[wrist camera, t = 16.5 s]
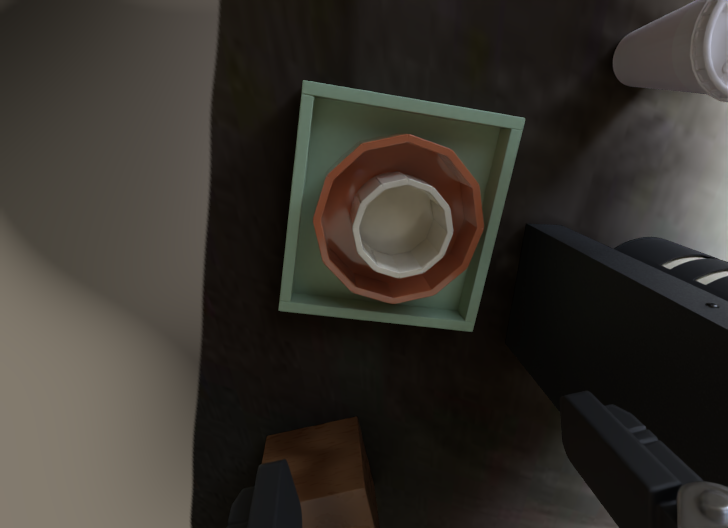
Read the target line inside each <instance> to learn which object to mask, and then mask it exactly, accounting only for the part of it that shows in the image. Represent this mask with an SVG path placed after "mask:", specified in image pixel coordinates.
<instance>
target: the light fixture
mask: <svg viewBox="0 0 728 528" xmlns="http://www.w3.org/2000/svg"><path fill="white" fill-rule="evenodd" d="M505 343H506V345H507V346H508V347H509V348H510V350H511V351H512V352H513V354H514V355H515V356H516V357H517V359H518V360H519V361H520V362H521V364H522V365H523V366H524V367H525V369H526V370H527V371H528V372H529V374H530V375H531V376H532V377H533V379H534V380H535V381H536V382H537V384H538V385H539V386H540V387H541V389H542V390H543V391H544V393H545V394H546V395H547V396H548V398H549V399H550V400H551V401H552V403H553V404H554V405H555V406H556V408H557V409H558V410H559V411H560V397H561V396H565V395H569V394H573V393H578V392H582V391H589V392H591V393H592V394H593V395H594V396H595V397H596V398H597V399H598V400H599V401H600V402H601V403H602V404H603V405H604V406H607V405H611V404H613V405H615V406H617V407H619V408H621V409H623V410H625V411H627V412H629V413H631V414H632V415H634V416H635V417H636V418H637V419H638V420H639V421H640V422H641V423H642V424H643V425H644V426H645V427H646V429H647V430H648V429H649V430H650V431H651V432H652V433H653V434H654V435H655V436H656V437H657V439H658V440H660V441H661V442H663V443H664V444H665V445H666V446H667V447H668V448H669V449H670V450H671V451H672V452H673V453H674V454H675V455H676V456H678V457H679V458H680V459H681V460H682V461H683V462H684V463H685V464H686V465H687V466H688V467H689V468H690V469H692V470H693V471H694V472H695V473H696V474H697V475H698V476H699V477H700V478H701V479H702V480H703V481H707V482H713V483H717V484H720V485H723V486H726V487H728V262H726V261H723V260H720V259H717V258H715V257H712V256H710V255H707V254H704V253H701V252H699V251H696V250H693V249H690V248H687V247H685V246H682V245H679V244H676V243H674V242H671V241H668V240H665V239H662V238H656V237H643V238H638V239H634V240H631V241H628V242H625V243H623V244H621V245H620V246H618V247H616V248H615V249H612V248H610V247H608V246H606V245H604V244H601V243H599V242H597V241H595V240H593V239H590V238H588V237H586V236H584V235H582V234H580V233H577V232H575V231H573V230H571V229H569V228H566V227H564V226H562V225H548V224H526V227H525V233H524V239H523V244H522V250H521V256H520V262H519V267H518V273H517V279H516V284H515V290H514V296H513V301H512V307H511V313H510V319H509V324H508V330H507V336H506V341H505Z"/></svg>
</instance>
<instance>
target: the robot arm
mask: <svg viewBox="0 0 728 528" xmlns="http://www.w3.org/2000/svg"><path fill="white" fill-rule="evenodd" d="M560 416H561V429H562V441H563V445H564V449H565V451H566V454H567V456H568V458H569V460H570V462H571V463H572V464H573V466H574V467H575V469H576V470H577V471H578V473H579V474H580V475H581V477H582V478H583V479H584V481H585V482H586V483H587V485H588V486H589V487H590V489H591V490H592V492H593V493H594V494H595V496H596V497H597V498H598V500H599V501H600V502H601V504H602V505H603V506H604V508H605V509H606V510H607V512H608V513H609V515H610V516H611V517H612V519H613V520H614V521H615V523H616V524H617V525H618V527H619V528H728V487H726V486H723V485H720V484H717V483H713V482H707V481H703V480H702V479H701V478H700V477H699V476H698V475H697V474H696V473H695V472H694V471H693V470H692V469H690V468H689V467H688V466H687V465H686V464H685V463H684V462H683V461H682V460H681V459H680V458H679V457H678V456H676V455H675V454H674V453H673V452H672V451H671V450H670V449H669V448H668V447H667V446H666V445H665V444H664V443H663V442H661V441H660V440H658V439H657V437H656V436H655V435H654V434H653V433H652V432H651V431H650V430H649V429H648V430H647V429H646V427H645V426H644V425H643V424H642V423H641V422H640V421H639V420H638V419H637V418H636V417H635V416H634V415H632V414H631V413H629V412H627V411H625V410H623V409H621V408H619V407H617V406H615V405H613V404H611V405H607V406H604V405H603V404H602V403H601V402H600V401H599V400H598V399H597V398H596V397H595V396H594V395H593V394H592V393H591V392H589V391H582V392H578V393H573V394H569V395H565V396H561V397H560ZM226 528H302V511H301V505H300V501H299V497H298V494H297V491H296V488H295V484H294V481H293V478H292V475H291V472H290V468H289V465H288V463H287V461H286V459H283V460H279V461H274V462H270V463H265V464H261V465H259V467H258V470H257V475H256V481H255V486H252V487H248V488H244V489H242V490H241V492H240V494H239V495H238V497H237V498H236V500H235V501H234V503H233V504H232V506H231V510H230V515H229V519H228V526H227V527H226Z"/></svg>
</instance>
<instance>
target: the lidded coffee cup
mask: <svg viewBox="0 0 728 528" xmlns="http://www.w3.org/2000/svg"><path fill="white" fill-rule="evenodd" d="M613 70H614V73H615V75H616V77H617V79H618V80H619V81H620V82H621V83H623V84H624V85H626V86H631V87H640V88H651V89H661V90H671V91H681V92H691V93H700V94H708V95H710V96H712V97H713V98H715V99H717V100H719V101H724V102H728V0H696V1H694V2H692V3H690V4H688V5H686V6H684V7H682V8H680V9H678V10H676V11H673V12H671V13H669V14H667V15H665V16H663V17H661V18H659V19H657V20H655V21H653V22H651V23H649V24H647V25H645V26H643V27H641V28H639V29H637V30H635V31H633V32H631V33H629V34H628V35H626V36H625V37H624V38H623V39H622V40H621V41H620V43H619V44H618V46H617V48H616V50H615V53H614V56H613Z"/></svg>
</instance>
